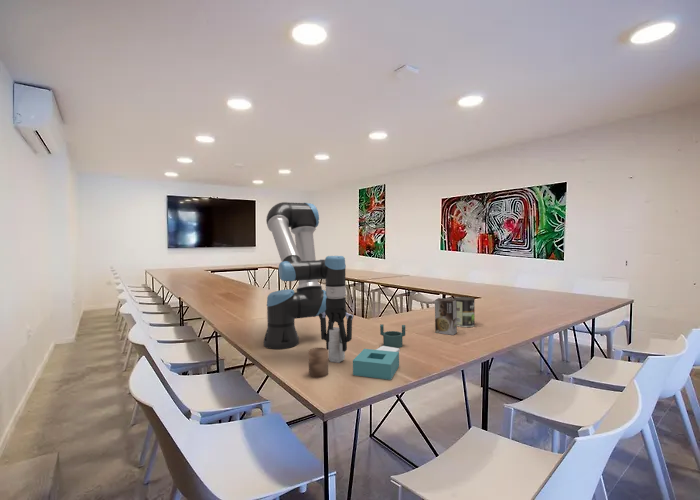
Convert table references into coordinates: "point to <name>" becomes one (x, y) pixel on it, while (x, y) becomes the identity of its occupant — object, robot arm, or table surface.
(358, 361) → the socket block
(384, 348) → the external hard drive
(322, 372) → the round bit
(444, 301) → the coffee box
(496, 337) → the table surface
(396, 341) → the bracket
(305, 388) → the table surface
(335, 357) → the square bit
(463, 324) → the coffee can
